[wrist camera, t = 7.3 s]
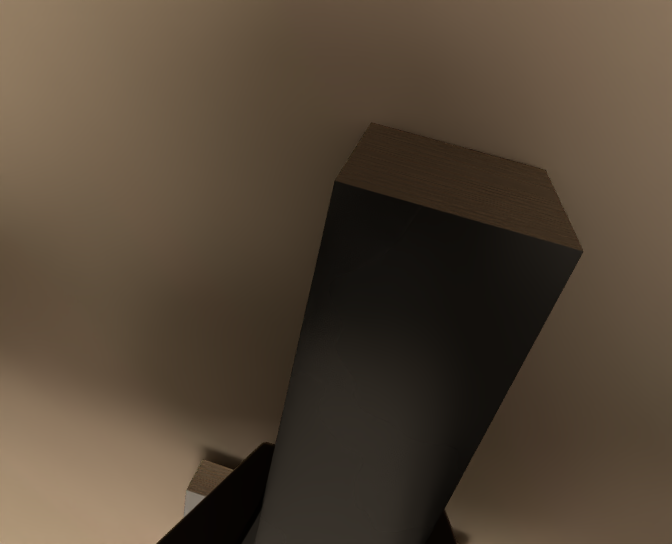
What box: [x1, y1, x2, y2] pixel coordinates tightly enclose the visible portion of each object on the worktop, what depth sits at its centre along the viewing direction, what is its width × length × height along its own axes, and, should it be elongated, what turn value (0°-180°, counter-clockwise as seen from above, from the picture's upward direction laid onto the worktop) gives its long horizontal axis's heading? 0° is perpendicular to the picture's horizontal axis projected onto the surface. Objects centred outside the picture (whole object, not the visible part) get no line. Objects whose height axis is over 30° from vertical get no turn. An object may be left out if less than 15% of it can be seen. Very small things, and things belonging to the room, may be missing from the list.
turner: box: [184, 122, 583, 544], centre depth 9 cm, size 13×6×2 cm, turn 167°
